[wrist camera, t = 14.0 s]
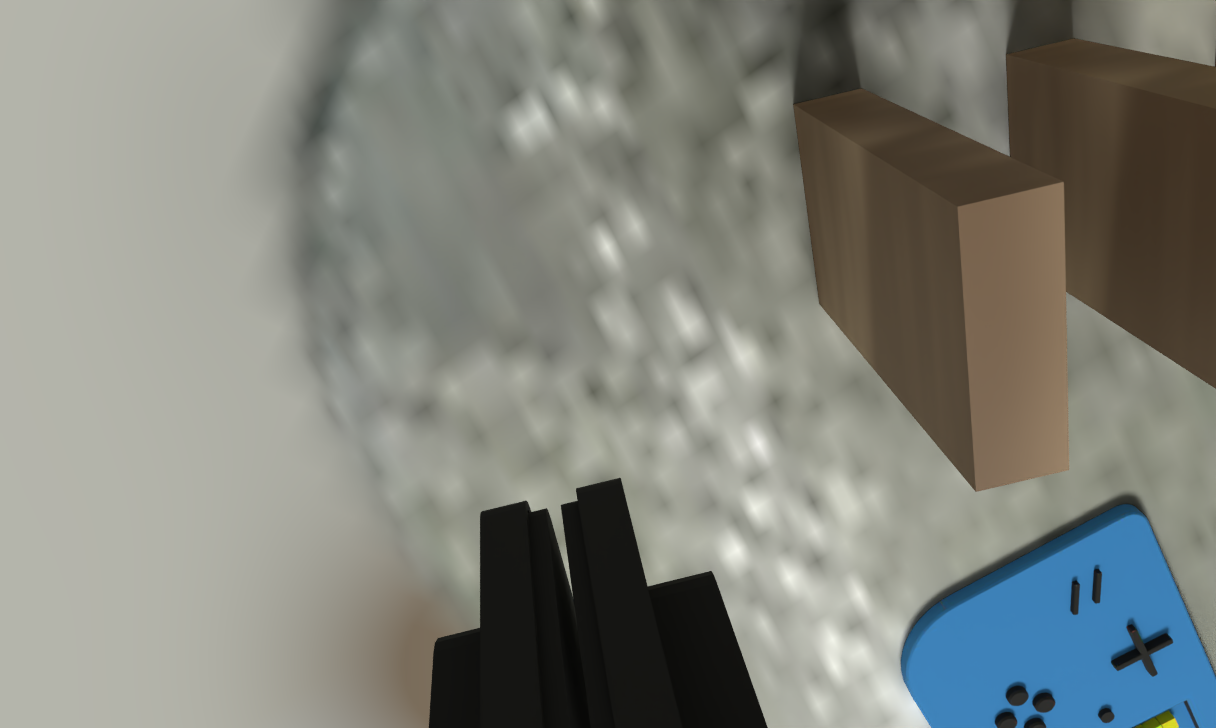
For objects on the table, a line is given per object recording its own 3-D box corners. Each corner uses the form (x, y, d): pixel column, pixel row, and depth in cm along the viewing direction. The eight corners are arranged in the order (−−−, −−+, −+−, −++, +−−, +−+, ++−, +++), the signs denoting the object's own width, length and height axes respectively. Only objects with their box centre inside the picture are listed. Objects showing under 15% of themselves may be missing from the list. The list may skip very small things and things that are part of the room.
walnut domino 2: (1074, 38, 23) (1396, 103, 15) (1076, 242, 25) (1360, 400, 17) (1005, 54, 23) (1291, 128, 15) (1014, 258, 25) (1268, 421, 17)
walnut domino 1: (861, 88, 23) (1064, 182, 15) (881, 289, 25) (1068, 469, 17) (793, 104, 23) (957, 206, 15) (819, 304, 25) (975, 492, 17)
